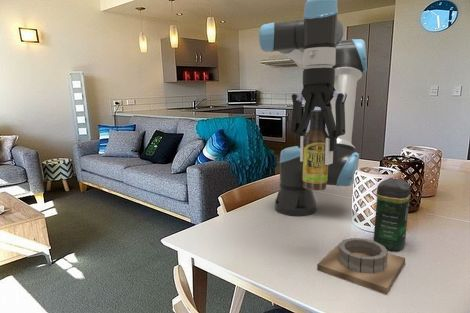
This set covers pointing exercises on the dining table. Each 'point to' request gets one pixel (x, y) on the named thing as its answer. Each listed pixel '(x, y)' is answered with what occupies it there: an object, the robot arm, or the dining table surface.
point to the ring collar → (363, 264)
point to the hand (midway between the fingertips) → (316, 162)
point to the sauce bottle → (315, 153)
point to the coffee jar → (392, 213)
